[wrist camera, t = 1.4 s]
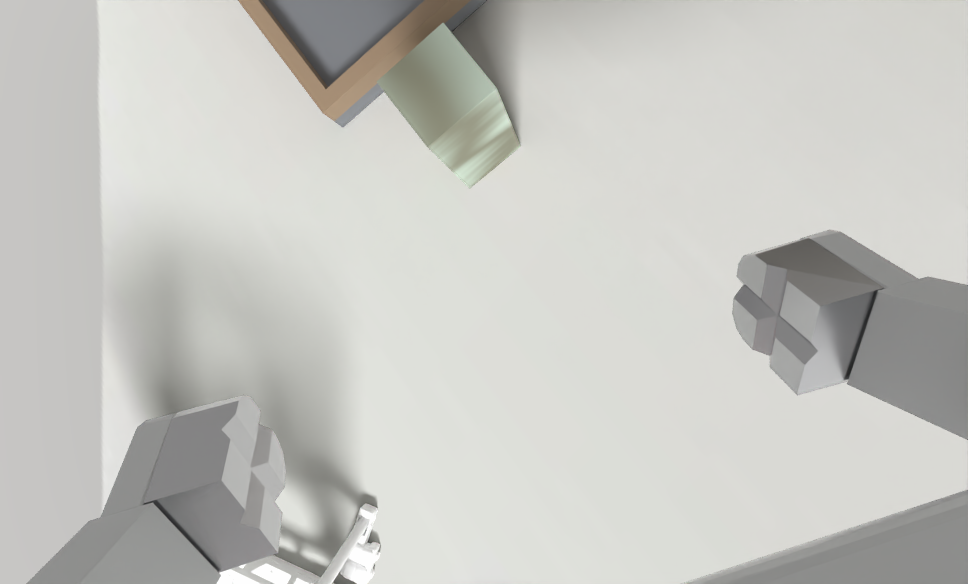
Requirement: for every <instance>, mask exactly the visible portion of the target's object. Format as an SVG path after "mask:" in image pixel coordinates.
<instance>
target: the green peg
mask: <svg viewBox="0 0 968 584" xmlns="http://www.w3.org/2000/svg"><path fill="white" fill-rule="evenodd" d="M377 83H378V84H379V85H380V87H381V88H382V89H383V91H384V92H385V93H386V94H387V96H388V97H389V98H390V100H391V101H392V102H393V103H394V105H395V106H396V107H397V109H398V110H399V111H400V112H401V114H402V115H403V116H404V118H405V119H406V120H407V121H408V123H409V124H410V125H411V127H412V128H413V129H414V130H415V132H416V133H417V134H418V136H419V137H420V138H421V139H422V141H423V142H424V143H425V145H426V146H427V147H428V148H429V149H430V150H431V151H432V152H433V153H434V154H435V155H436V156H437V157H438V158H439V159H440V160H441V161H442V162H443V163H444V164H445V165H446V166H447V167H448V168H449V169H450V170H451V171H452V172H453V173H454V174H455V175H456V176H457V177H458V178H459V179H460V180H461V181H462V182H463V183H464V184H465V185H466V186H468V187H469V188H471V187H472V186H473V185H475V184H476V183H477V182H478V181H479V180H481V179H482V178H483V177H484V176H486V175H487V174H488V173H489V172H490V171H492V170H493V169H494V168H495V167H496V166H498V165H499V164H500V163H501V162H502V161H504V160H505V159H506V158H507V157H509V156H510V155H511V154H512V153H513V152H515V151H516V150H517V149H518V148H519V147H521V146H520V143H519V141H518V138H517V136H516V134H515V131H514V129H513V126H512V124H511V121H510V119H509V117H508V114H507V112H506V109H505V107H504V105H503V102H502V100H501V97H500V95H499V92H498V90H497V88H496V87H495V85H494V84H493V83H492V82H491V80H490V79H489V78H488V77H487V76H486V74H485V73H484V72H483V71H482V69H481V68H480V67H479V66H478V65H477V63H476V62H475V61H474V60H473V58H472V57H471V56H470V55H469V53H468V52H467V51H466V50H465V49H464V47H463V46H462V45H461V44H460V42H459V41H458V40H457V39H456V38H455V36H454V35H453V34H452V33H451V31H450V30H449V29H448V28H447V26H446V25H445V24H444V23H442V24H441V25H440V26H438V27H437V28H436V29H435V30H434V31H433V32H432V33H431V34H429V35H428V36H427V37H426V38H425V39H424V40H423V41H422V42H420V43H419V44H418V45H417V46H416V47H415V48H414V49H413V50H411V51H410V52H409V53H408V54H407V55H406V56H405V57H404V58H402V59H401V60H400V61H399V62H398V63H397V64H396V65H395V66H393V67H392V68H391V69H390V70H389V71H388V72H387V73H386V74H384V75H383V76H382V77H381V78H380V79H379V80H378V81H377Z"/></svg>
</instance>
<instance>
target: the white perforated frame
mask: <svg viewBox="0 0 968 584" xmlns="http://www.w3.org/2000/svg"><path fill="white" fill-rule="evenodd" d="M377 511H378V508H377V507H374V506H372V505H369V504H367V503H365V504H364V505H363V506H362V507H361V508H360V510H359V513H358V516H357V519H356V522H355V526H354V528H353V529H352V531H351V532H350V534H349V536H348V537H347V539H346V540H345V542H344V543H343V545H342V546H341V548H340V549H339V551H338V552H337V554H336V555H335V557H334V558H333V560H332V561H331V563H330V565H329V566H328V568H327V569H326V571H325V572H324V574H323V575H322V577H320V576H317V575H315V574H313V573H311V572H309V571H307V570H304V569H302V568H300V567H298V566H296V565H294V564H291V563H289V562H287V561H285V560H283V559H281V558H278V557H276V556H274V555H271V556H268V557H265V558H262V559H259V560H256V561H253V562H250V563H247V564H244V565H241V566H238V567H235V568H232V569H229V570H226V571H223V572H220V574H221V577H220V579H219V580H218V582H217V584H335V583H333V581H334V579H335V578H336V576H337V575H338V573H339V571H340V575H343V577H344V578H346V579H348V580H351V581H353V582H355V583H356V584H368V582H369V579H371V578H372V577H373V575H374V570H373V567H374V564H375V561H377V560H378V559H379V557H380V552H378V551H379V548H380V544H379V543H377V542H374V541H373V542H372V543H371V544H370V543H368V539H369V536H370V533H371V530H372V527H373V524H374V521H375V517H376V514H377ZM367 527H368V528H367ZM366 528H367V530H366Z"/></svg>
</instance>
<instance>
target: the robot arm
mask: <svg viewBox="0 0 968 584" xmlns="http://www.w3.org/2000/svg"><path fill="white" fill-rule="evenodd" d="M737 278H738V279H739V280H740V281H741V282H742V283H743V286H742V287H741V289H740V290H739V291H738V293H737V294H736V295H735V297H734V300H733V311H732V314H733V318H734V321H735V325H736V329H737V330H738V332H739V334H740V335H741V337H742V339H743V340H744V341H745V342H746V343H747V344H748V345H749V346H750V347H751V348H752V349H753V350H756V351H758V352H761V353H764V354H766V355H769V356H770V368H771V369H772V370H773V371H774V372H775V373H776V374H777V375H778V376H779V377H780V378H781V379H782V380H783V381H784V382H785V383H786V384H787V385H788V386H789V387H790V388H791V389H792V390H793V391H794V392H795V393H796V394H797V395H800V394H803V393H807V392H811V391H814V390H818V389H821V388H825V387H829V386H832V385H836V384H840V383H843V382H847V381H848V383H847V384H848V385H850V386H852V387H854V388H857V389H859V390H861V391H863V392H865V393H867V394H870V395H872V396H874V397H876V398H878V399H880V400H882V401H885V402H887V403H889V404H891V405H893V406H895V407H898V408H900V409H902V410H904V411H906V412H908V413H911V414H913V415H915V416H917V417H919V418H921V419H924V420H926V421H928V422H930V423H932V424H934V425H937V426H939V427H941V428H943V429H945V430H947V431H950V432H952V433H954V434H956V435H958V436H960V437H963V438H965V439H967V440H968V285H965V284H960V283H955V282H951V281H946V280H941V279H937V278H932V277H925V278H921V279H918V278H916V277H914V276H913V275H911V274H910V273H908V272H906V271H905V270H903V269H901V268H900V267H898V266H896V265H895V264H893V263H891V262H890V261H888V260H886V259H885V258H883V257H881V256H880V255H878V254H876V253H875V252H873V251H872V250H870V249H868V248H867V247H865V246H863V245H862V244H860V243H858V242H857V241H855V240H853V239H852V238H850V237H848V236H847V235H845V234H843V233H842V232H839V231H834V230H827V231H824V232H820V233H817V234H814V235H810V236H807V237H804V238H801V239H800V240H796V241H792V242H789V243H786V244H782V245H779V246H775V247H772V248H768V249H765V250H761V251H758V252H754V253H751V254H747V255H744V256H743V257H742V259H741V261H740V262H739V264H738V270H737ZM260 412H261V410H260V409H259V408H258V406H257V405H256V403H255V402H254V400H253V399H252V397H250V396H246V395H241V396H237V397H234V398H230V399H226V400H222V401H218V402H214V403H210V404H206V405H202V406H198V407H194V408H191V409H187V410H183V411H179V412H178V413H173V414H169V415H165V416H162V417H158V418H154V419H150V420H146V421H145V422H143V423H142V424H141V425H140V426H139V427H137V429H136V432H135V434H134V436H133V439H132V441H131V444H130V446H129V449H128V451H127V454H126V456H125V459H124V461H123V463H122V466H121V468H120V471H119V473H118V476H117V478H116V481H115V483H114V486H113V488H112V490H111V493H110V495H109V498H108V500H107V503H106V505H105V508H104V510H103V513H102V515H101V517H100V518H97V519H94V520H91V521H89V522H88V523H87V524H86V525H85V526H84V527H83V528H82V529H81V530H80V531H79V532H78V533H77V534H76V535H75V536H74V537H73V538H72V539H71V540H70V541H69V542H68V543H67V544H66V545H65V546H64V547H63V548H62V549H61V550H60V551H59V552H58V553H57V554H56V555H55V556H54V557H53V558H52V559H51V560H50V561H49V562H48V563H47V564H46V565H45V566H44V567H43V568H42V569H41V570H40V571H39V572H38V573H37V574H36V575H35V576H34V577H33V578H32V579H31V580H30V581H29V582H28V583H27V584H217V582H218V580H219V579H220V577H221V574H220V572H223V571H226V570H229V569H232V568H235V567H238V566H241V565H244V564H247V563H250V562H253V561H256V560H259V559H262V558H265V557H268V556H271V555H274V554H277V553H278V550H279V540H280V530H281V521H282V511H281V510H280V509H279V507H278V506H277V504H276V503H275V500H276V499H277V497H278V496H279V494H280V493H281V492H282V490H283V489H284V487H285V477H286V468H285V461H284V453H283V450H282V448H281V445H280V442H279V440H278V438H277V436H276V435H275V433H274V431H273V430H272V429H270V428H267V427H265V426H263V425H260V424H259V419H260ZM682 584H968V490H965V491H962V492H959V493H956V494H953V495H950V496H947V497H944V498H941V499H938V500H935V501H932V502H929V503H926V504H923V505H920V506H917V507H914V508H911V509H907V510H904V511H901V512H898V513H895V514H892V515H889V516H886V517H883V518H880V519H877V520H874V521H871V522H868V523H865V524H862V525H859V526H856V527H853V528H850V529H847V530H844V531H840V532H837V533H834V534H831V535H828V536H825V537H822V538H819V539H816V540H813V541H810V542H807V543H804V544H801V545H798V546H795V547H792V548H789V549H786V550H783V551H780V552H777V553H773V554H770V555H767V556H764V557H761V558H758V559H755V560H752V561H749V562H746V563H743V564H740V565H737V566H734V567H731V568H728V569H725V570H722V571H719V572H716V573H713V574H710V575H706V576H703V577H700V578H697V579H694V580H691V581H688V582H685V583H682Z"/></svg>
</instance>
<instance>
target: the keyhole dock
mask: <svg viewBox="0 0 968 584" xmlns="http://www.w3.org/2000/svg"><path fill="white" fill-rule="evenodd" d="M238 1H239V2H240V4H241V5H242V6H243V8H244V9H245V10H246V12H247V13H248V14H249V16H250V17H251V18H252V20H253V21H254V22H255V24H256V25H257V26H258V28H259V29H260V30H261V32H262V33H263V34H264V35H265V37H266V38H267V39H268V41H269V42H270V43H271V45H272V46H273V47H274V49H275V50H276V51H277V53H278V54H279V55H280V57H281V58H282V59H283V61H284V62H285V63H286V65H287V66H288V67H289V69H290V70H291V71H292V73H293V74H294V75H295V77H296V78H297V79H298V81H299V82H300V83H301V85H302V86H303V87H304V89H305V90H306V91H307V93H308V94H309V95H310V97H311V98H312V99H313V101H314V102H315V103H316V105H317V106H318V107H319V109H320V110H321V111H322V113H324V114H325V115H326V116H328V117H329V118H331V119H332V120H333V121H335V122H336V123H337V124H339V125H340V126H342V127H344V126H345V125H346V124H347V123H349V122H350V121H351V120H352V119H353V118H354V117H355V116H356V115H358V114H359V113H360V112H361V111H362V110H363V109H364V108H366V107H367V106H368V105H369V104H370V103H371V102H372V101H373V100H375V99H376V98H377V97H378V96H379V95H380V94H381V93H383V92H384V91H383V89H382V88H381V87H380V85H379V84H378V83H377V81H378V80H379V79H380V78H381V77H382V76H383V75H384V74H386V73H387V72H388V71H389V70H390V69H391V68H392V67H393V66H395V65H396V64H397V63H398V62H399V61H400V60H401V59H402V58H404V57H405V56H406V55H407V54H408V53H409V52H410V51H411V50H413V49H414V48H415V47H416V46H417V45H418V44H419V43H420V42H422V41H423V40H424V39H425V38H426V37H427V36H428V35H429V34H431V33H432V32H433V31H434V30H435V29H436V28H437V27H438V26H440V25H441V24H442V23H444V24H445V25H446V26H447V28H448V29H449V30H450V31H451V32H452V31H453V30H454V29H455V28H456V27H457V26H458V25H460V24H461V23H462V22H463V21H464V20H465V19H466V18H467V17H469V16H470V15H471V14H472V13H473V12H474V11H475V10H477V9H478V8H479V7H480V6H481V5H482V4H483V3H484V2H486V1H487V0H238Z"/></svg>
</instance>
